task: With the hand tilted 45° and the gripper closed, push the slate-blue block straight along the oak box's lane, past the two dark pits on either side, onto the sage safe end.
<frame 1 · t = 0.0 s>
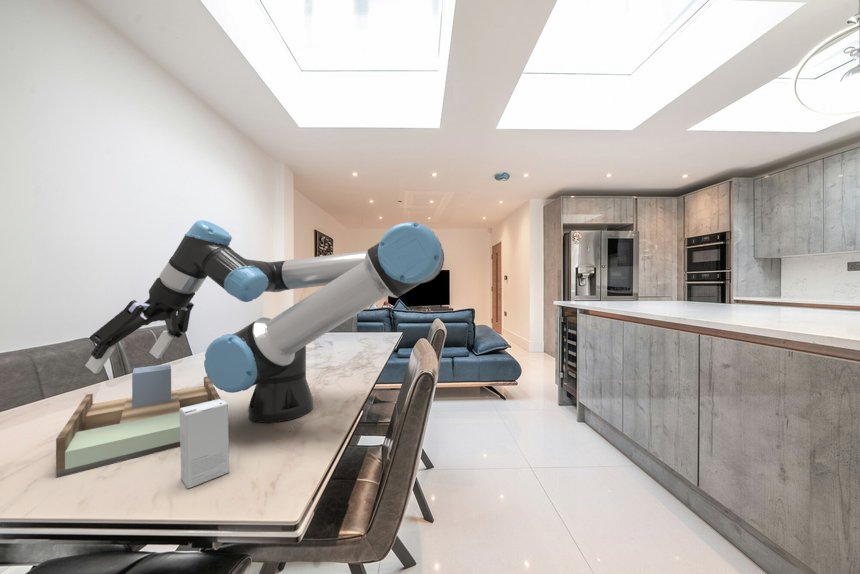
hand: (126, 361, 72), 15 cm above the table, tool tilted 35°, fingers open, 13 cm apart
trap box: (152, 428, 73), on the table
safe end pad: (151, 444, 66), resting on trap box
skincare box: (204, 478, 54), on the table
slate block: (152, 401, 79), point 4 cm above the table, touching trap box
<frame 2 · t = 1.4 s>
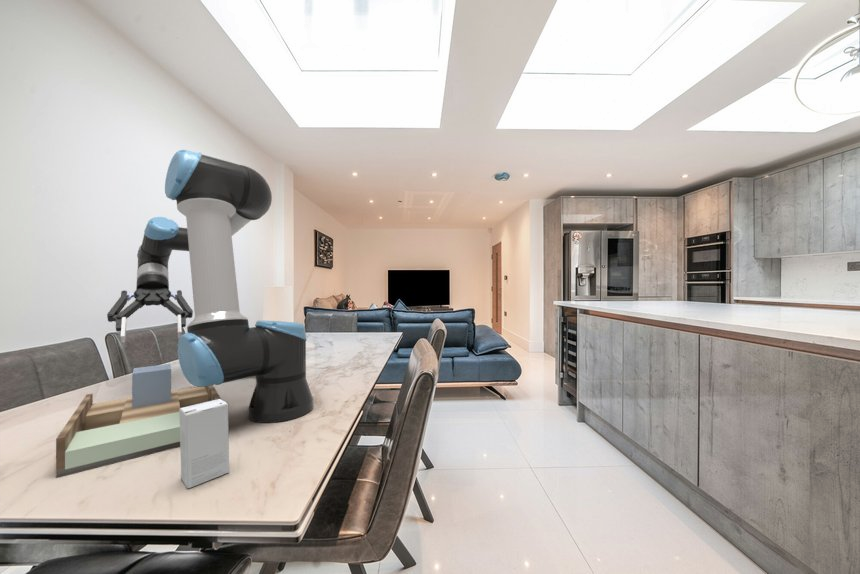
hand: (152, 337, 88), 18 cm above the table, tool tilted 45°, fingers open, 11 cm apart
nothing on the table moved.
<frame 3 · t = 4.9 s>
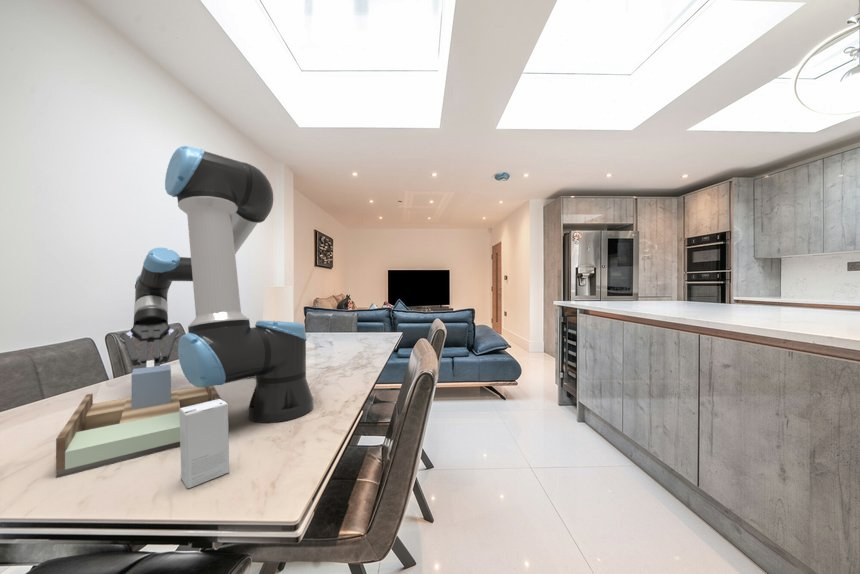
hand: (150, 384, 82), 7 cm above the table, tool tilted 45°, fingers closed
slate block: (152, 402, 79), point 4 cm above the table, touching gripper, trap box
everything else where it was.
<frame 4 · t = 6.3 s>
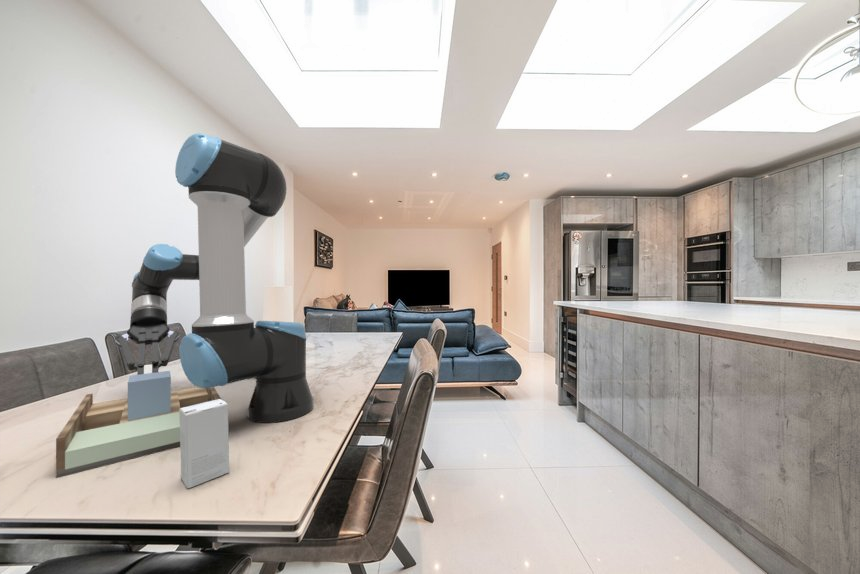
hand: (147, 391, 76), 8 cm above the table, tool tilted 45°, fingers closed
slate block: (150, 412, 72), point 4 cm above the table, touching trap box
everything else where it was.
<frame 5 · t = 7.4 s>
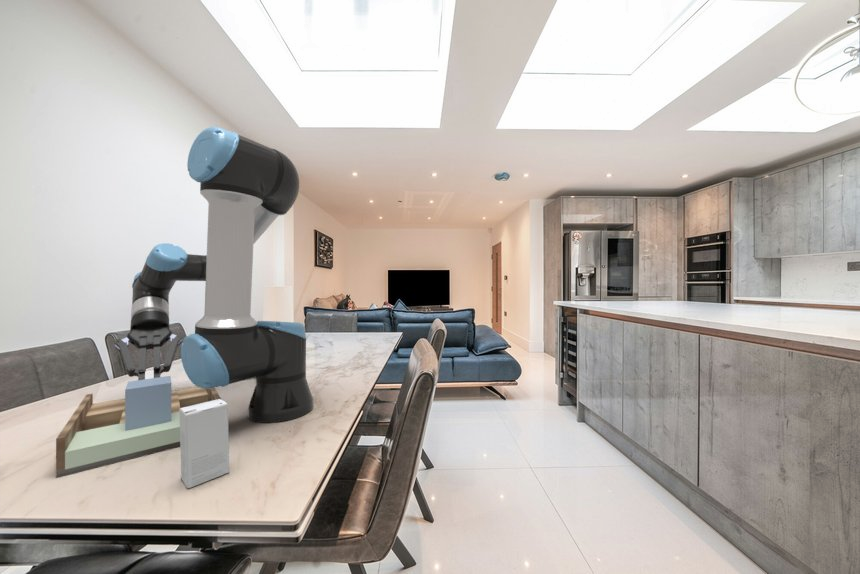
hand: (149, 399, 71), 7 cm above the table, tool tilted 45°, fingers closed
slate block: (149, 420, 68), point 4 cm above the table, touching gripper
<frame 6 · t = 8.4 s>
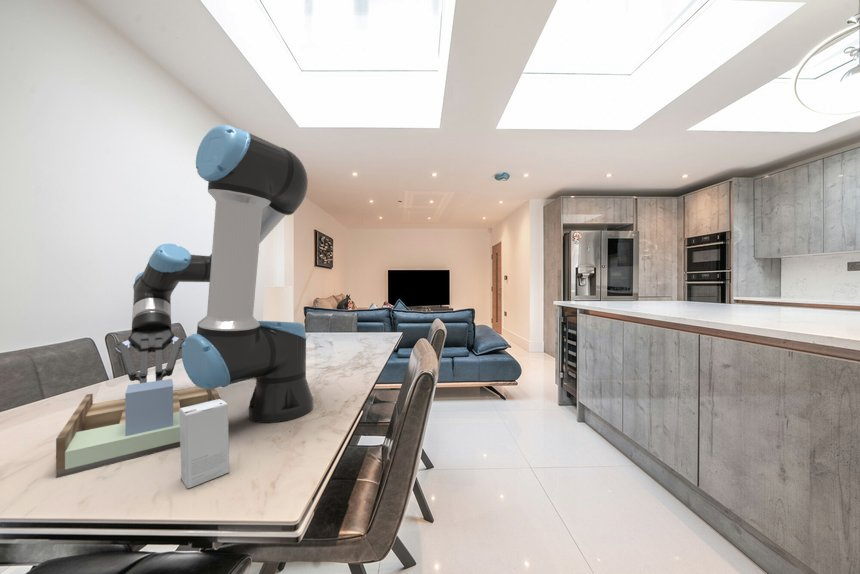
hand: (151, 404, 69), 7 cm above the table, tool tilted 45°, fingers closed
slate block: (150, 425, 66), point 4 cm above the table, touching gripper, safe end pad
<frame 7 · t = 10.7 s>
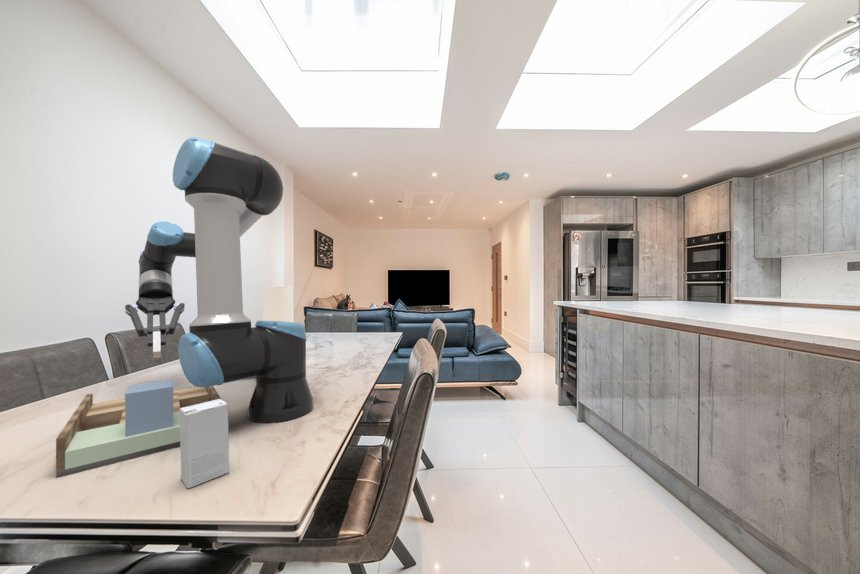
hand: (156, 354, 82), 15 cm above the table, tool tilted 45°, fingers closed
slate block: (150, 425, 65), point 4 cm above the table, touching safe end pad
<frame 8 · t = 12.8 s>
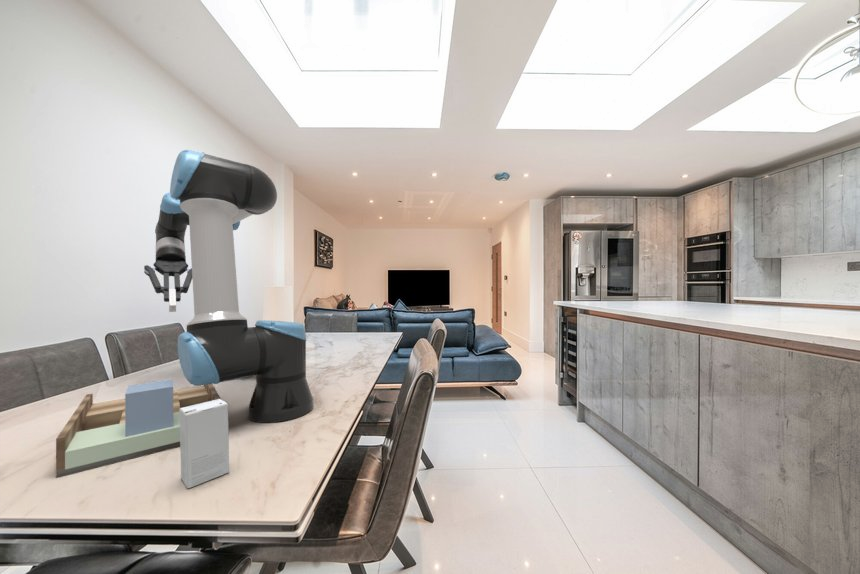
hand: (172, 308, 92), 26 cm above the table, tool tilted 45°, fingers closed
at the end: slate block 0.6 cm from the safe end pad (horizontally); slate block tilted 0°; slate block point 3.9 cm above the table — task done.
